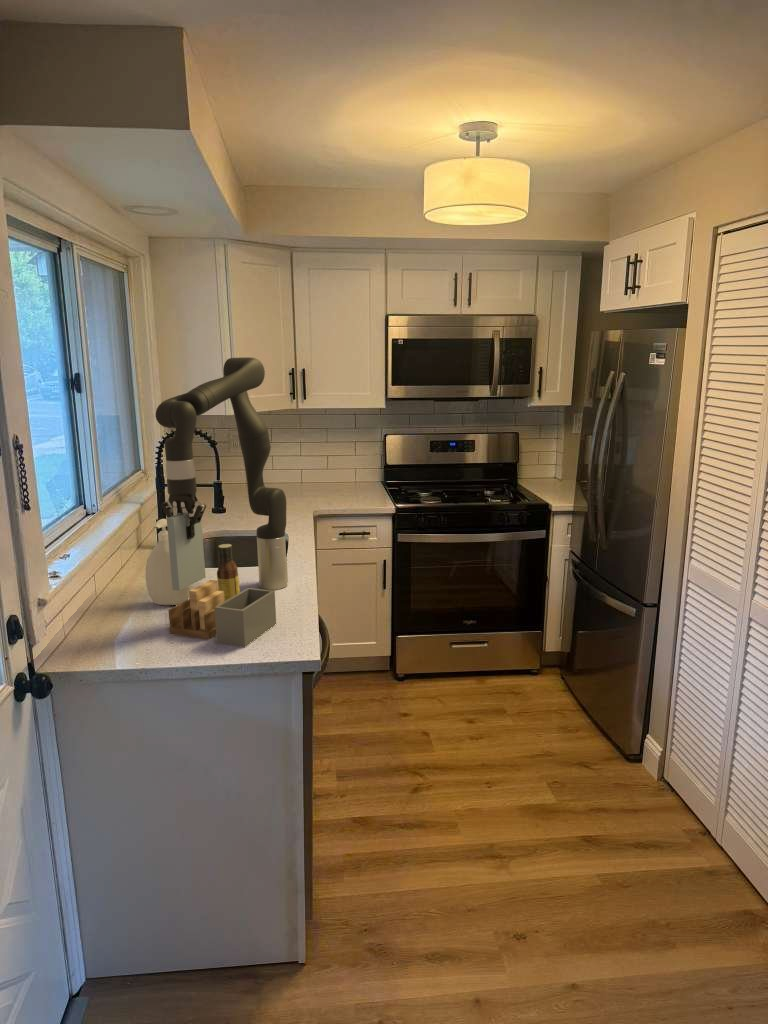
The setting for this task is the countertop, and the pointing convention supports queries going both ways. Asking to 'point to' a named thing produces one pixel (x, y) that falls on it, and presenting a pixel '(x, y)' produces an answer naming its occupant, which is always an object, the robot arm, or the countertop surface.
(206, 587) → the oak offcut
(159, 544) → the soap bottle
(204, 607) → the beech offcut
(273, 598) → the bin
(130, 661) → the countertop surface
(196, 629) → the rack
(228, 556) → the sauce bottle
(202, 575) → the tall sheet
